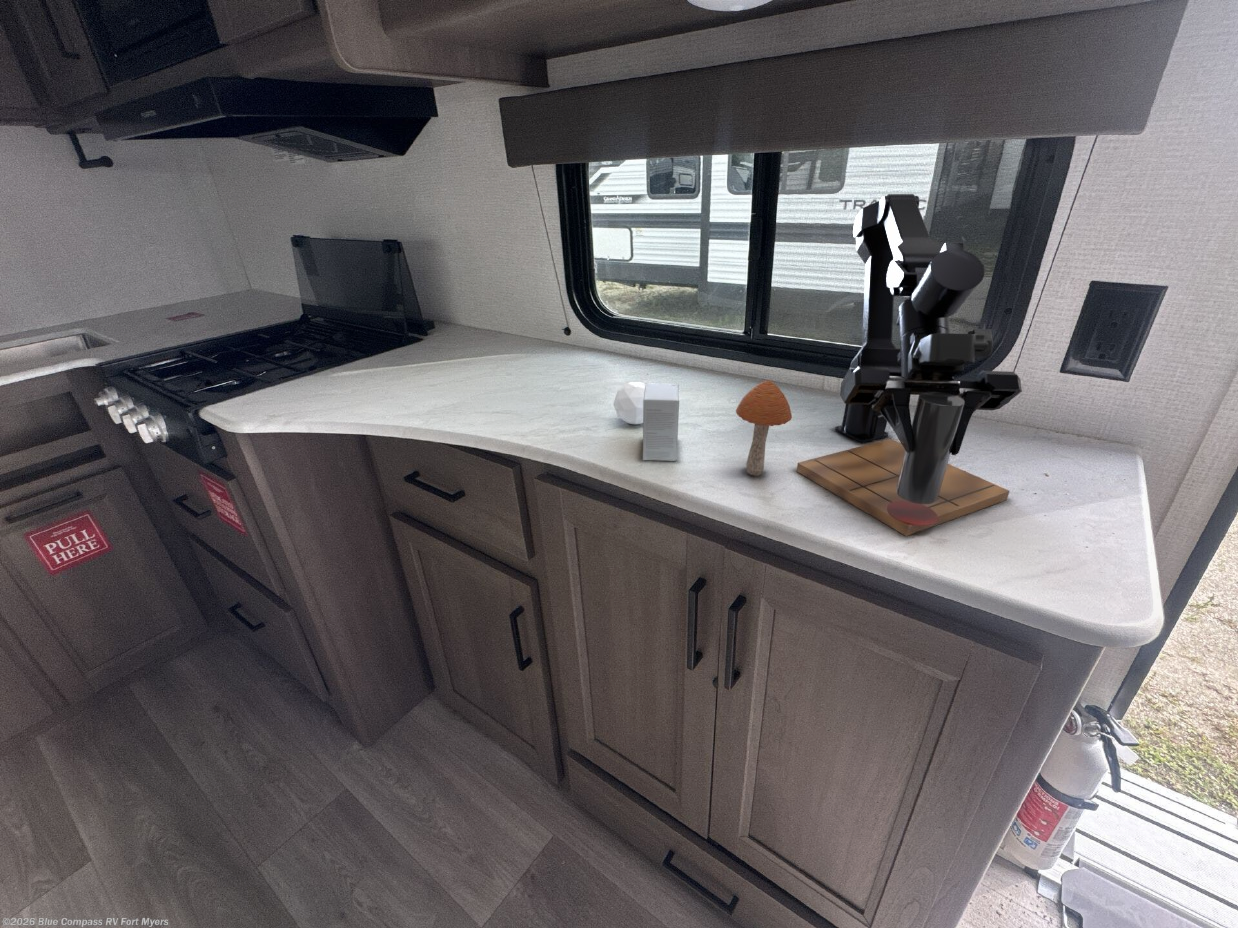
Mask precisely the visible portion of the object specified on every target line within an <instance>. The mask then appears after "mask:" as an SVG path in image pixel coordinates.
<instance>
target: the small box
mask: <svg viewBox="0 0 1238 928" xmlns="http://www.w3.org/2000/svg"><path fill="white" fill-rule="evenodd" d="M679 418H680V384H679V383H662V382H661V383H659V382H658V383H657V382H656V383H654V382H646V383H645V392H644V400H643V423H642V460H643V461H662V462H676V461H677V459H678V458H677V457H678V440H679V439H678V438H679Z"/></svg>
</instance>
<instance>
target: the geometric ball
mask: <svg viewBox="0 0 1238 928" xmlns="http://www.w3.org/2000/svg"><path fill="white" fill-rule="evenodd" d="M645 385H646V383H645V384H644V382H627V383H626V384H624V385H623V386H621V388H619V389H618V390H616V392H615V393H616V394H615V397H614V399H613V407H614V410H615V413H616V415H617V417H618V418H619V419H621V420H622V421H624V422H625V423H627V424H628V425H641V424H642V425H643V400H644V392H645Z"/></svg>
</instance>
